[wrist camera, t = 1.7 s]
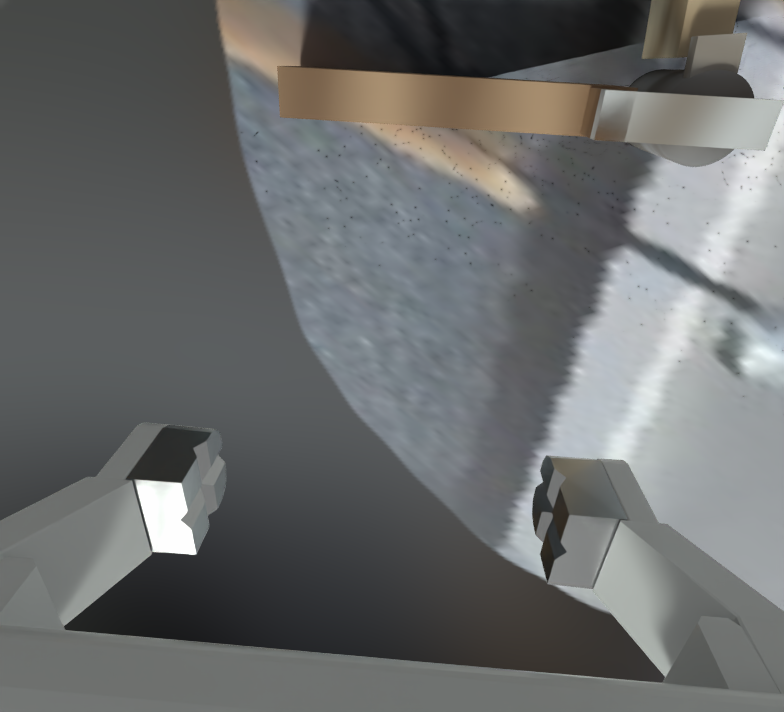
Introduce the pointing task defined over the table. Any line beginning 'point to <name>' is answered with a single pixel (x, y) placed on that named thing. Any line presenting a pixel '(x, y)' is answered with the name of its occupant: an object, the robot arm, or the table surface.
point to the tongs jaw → (526, 107)
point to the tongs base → (694, 63)
